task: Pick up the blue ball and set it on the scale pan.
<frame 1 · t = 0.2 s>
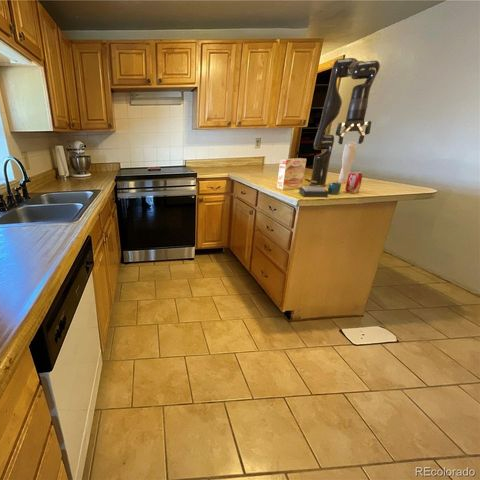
hand: (350, 144, 136), 29 cm above the countertop, tool pointing down, fingers open, 8 cm apart
scale pan: (313, 189, 159), point 3 cm above the countertop, slide at 0.0 cm
scale: (312, 194, 160), on the countertop
coffeecake box: (289, 188, 181), on the countertop
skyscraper: (343, 182, 193), on the countertop
soda can: (351, 192, 161), on the countertop
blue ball: (333, 193, 161), on the countertop
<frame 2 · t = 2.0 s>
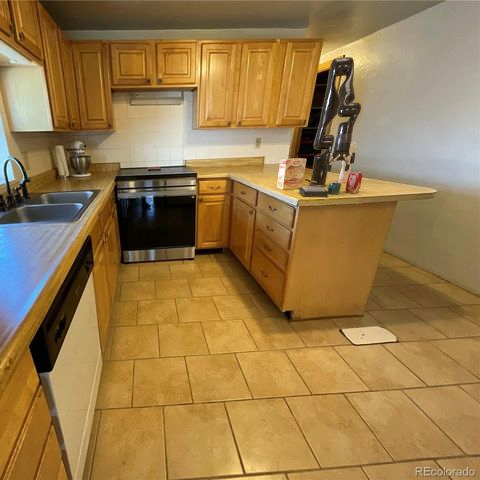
hand: (337, 171, 156), 13 cm above the countertop, tool pointing down, fingers open, 8 cm apart
nothing on the countertop moved.
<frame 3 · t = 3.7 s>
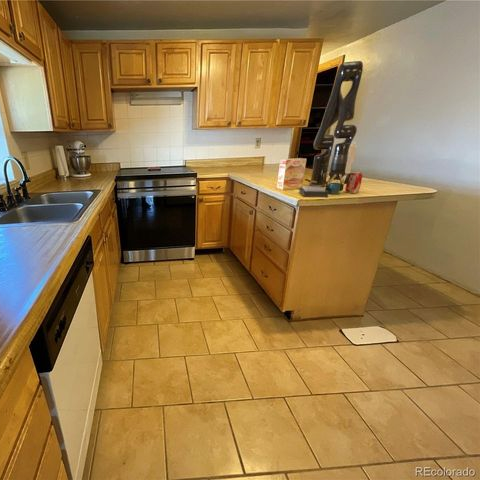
hand: (333, 190, 160), 2 cm above the countertop, tool pointing down, fingers closed on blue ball, 6 cm apart
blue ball: (333, 193, 161), on the countertop, touching gripper
everything else where it was.
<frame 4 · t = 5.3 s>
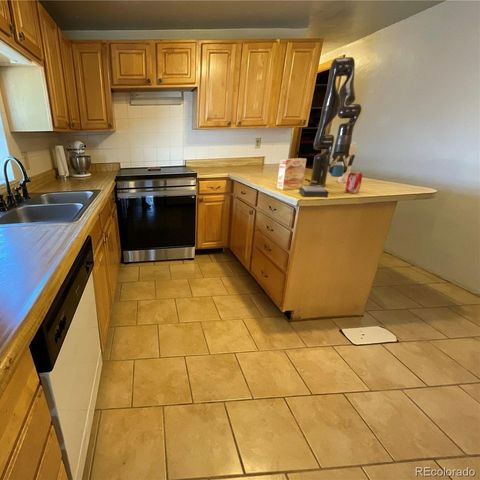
hand: (336, 173, 156), 12 cm above the countertop, tool pointing down, fingers closed on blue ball, 6 cm apart
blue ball: (336, 176, 157), point 10 cm above the countertop, touching gripper
everything else where it was.
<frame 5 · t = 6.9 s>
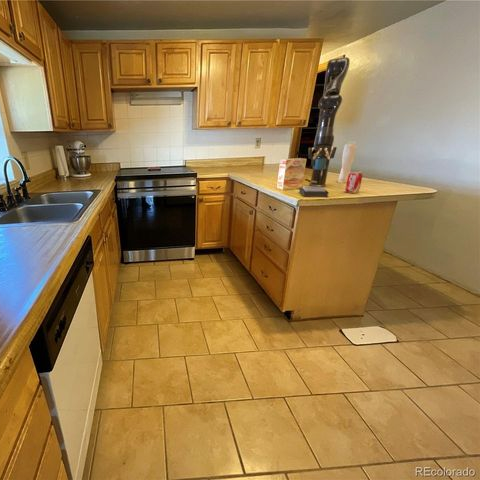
hand: (319, 166, 154), 17 cm above the countertop, tool pointing down, fingers closed on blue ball, 6 cm apart
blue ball: (318, 169, 155), point 15 cm above the countertop, touching gripper
everything else where it was.
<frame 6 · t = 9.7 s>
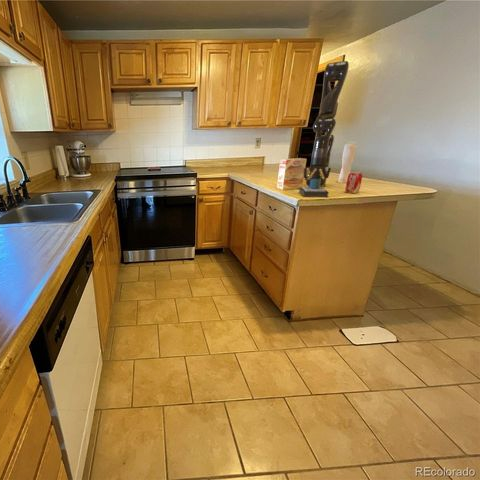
hand: (314, 185, 158), 6 cm above the countertop, tool pointing down, fingers closed on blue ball, 6 cm apart
scale pan: (313, 189, 159), point 3 cm above the countertop, slide at -0.2 cm, touching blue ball
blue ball: (313, 188, 159), point 4 cm above the countertop, touching gripper, scale pan
everything else where it was.
when the fingers open (6 cm above the countertop, at t = 10.0 s): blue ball stays where it is, resting on scale pan.
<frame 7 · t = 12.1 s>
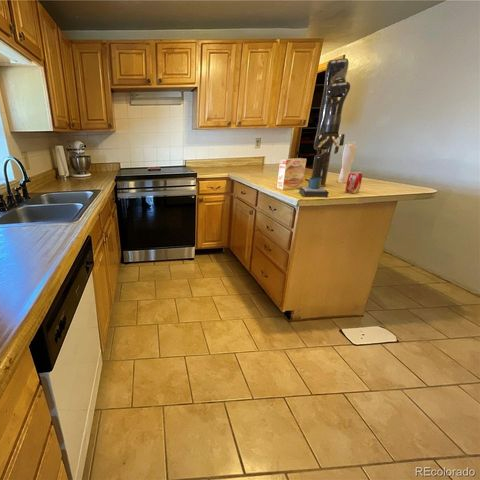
hand: (326, 153, 154), 23 cm above the countertop, tool pointing down, fingers open, 8 cm apart
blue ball: (313, 188, 159), point 4 cm above the countertop, touching scale pan
everything else where it was.
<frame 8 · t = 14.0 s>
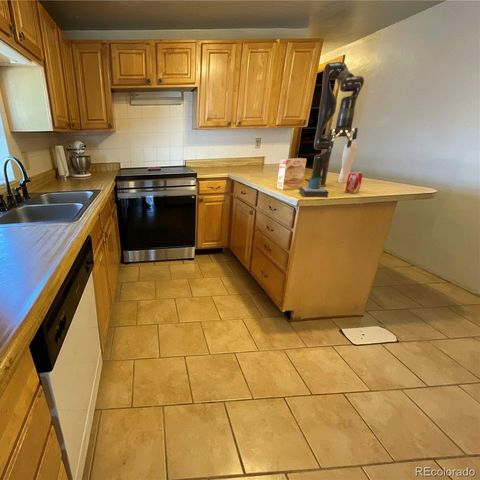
hand: (339, 147, 155), 26 cm above the countertop, tool pointing down, fingers open, 8 cm apart
nothing on the countertop moved.
at the end: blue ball 0.1 cm off-centre on the scale, point 3.8 cm above the scale's base; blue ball tilted 0°; the gripper is holding nothing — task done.
